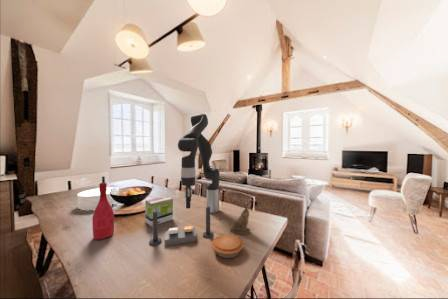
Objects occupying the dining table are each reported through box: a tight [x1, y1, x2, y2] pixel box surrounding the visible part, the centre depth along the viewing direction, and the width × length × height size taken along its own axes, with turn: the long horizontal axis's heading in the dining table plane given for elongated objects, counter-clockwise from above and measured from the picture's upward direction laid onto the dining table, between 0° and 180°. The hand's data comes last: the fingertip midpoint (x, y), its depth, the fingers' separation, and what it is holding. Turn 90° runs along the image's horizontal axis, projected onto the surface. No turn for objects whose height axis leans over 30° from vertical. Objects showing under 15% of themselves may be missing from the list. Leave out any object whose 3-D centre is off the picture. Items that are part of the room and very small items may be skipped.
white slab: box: [168, 227, 179, 234], centre depth 90 cm, size 4×6×1 cm
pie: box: [211, 234, 244, 259], centre depth 81 cm, size 15×16×5 cm
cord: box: [148, 211, 162, 247], centre depth 87 cm, size 6×6×16 cm
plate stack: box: [76, 186, 119, 211], centre depth 143 cm, size 28×28×12 cm
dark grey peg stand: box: [202, 205, 214, 239], centre depth 94 cm, size 6×6×16 cm
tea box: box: [144, 195, 174, 228], centre depth 112 cm, size 15×10×15 cm
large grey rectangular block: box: [164, 227, 197, 246], centre depth 91 cm, size 16×9×4 cm, turn 105°
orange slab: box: [183, 225, 194, 232], centre depth 92 cm, size 4×6×1 cm
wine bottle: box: [91, 182, 115, 240], centre depth 93 cm, size 10×10×30 cm
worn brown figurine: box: [229, 204, 251, 236], centre depth 98 cm, size 12×6×18 cm, turn 68°
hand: (188, 207), depth 89 cm, fingers closed
